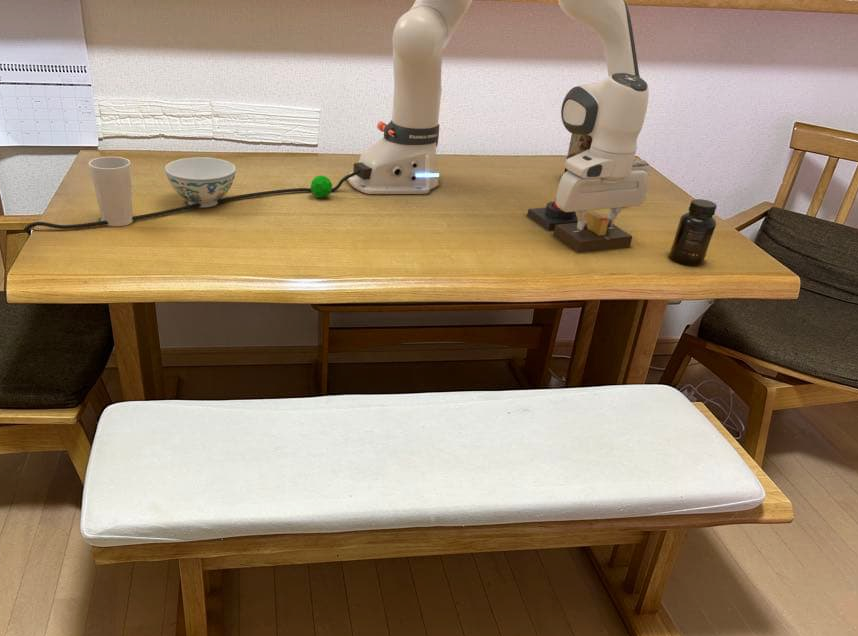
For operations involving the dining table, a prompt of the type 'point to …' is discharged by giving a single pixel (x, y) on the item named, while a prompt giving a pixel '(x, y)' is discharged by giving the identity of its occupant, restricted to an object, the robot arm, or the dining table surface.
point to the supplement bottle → (694, 233)
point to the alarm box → (551, 216)
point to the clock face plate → (591, 238)
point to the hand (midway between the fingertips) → (594, 227)
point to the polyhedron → (321, 186)
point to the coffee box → (578, 145)
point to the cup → (113, 189)
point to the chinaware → (201, 179)
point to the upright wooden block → (596, 223)
